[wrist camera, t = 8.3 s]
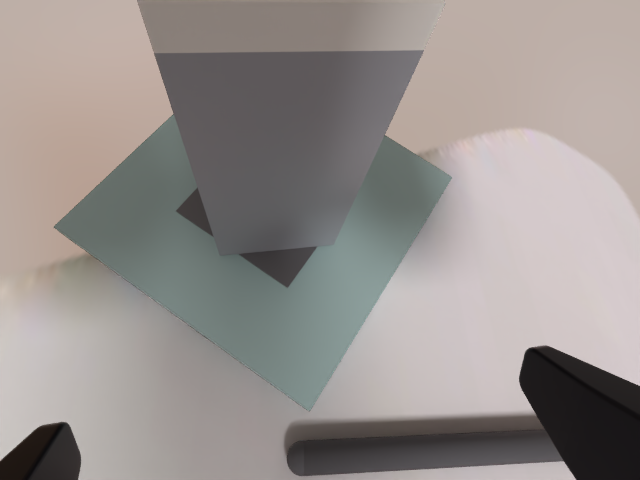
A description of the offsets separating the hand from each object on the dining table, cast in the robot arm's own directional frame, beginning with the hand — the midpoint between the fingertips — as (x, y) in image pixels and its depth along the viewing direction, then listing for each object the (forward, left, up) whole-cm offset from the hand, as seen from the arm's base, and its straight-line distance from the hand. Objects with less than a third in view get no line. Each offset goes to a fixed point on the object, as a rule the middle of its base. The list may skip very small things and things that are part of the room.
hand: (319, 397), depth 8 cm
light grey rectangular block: (+6, -6, -8) cm, 12 cm away
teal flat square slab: (+6, -6, -9) cm, 13 cm away
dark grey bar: (-7, -2, -10) cm, 12 cm away
